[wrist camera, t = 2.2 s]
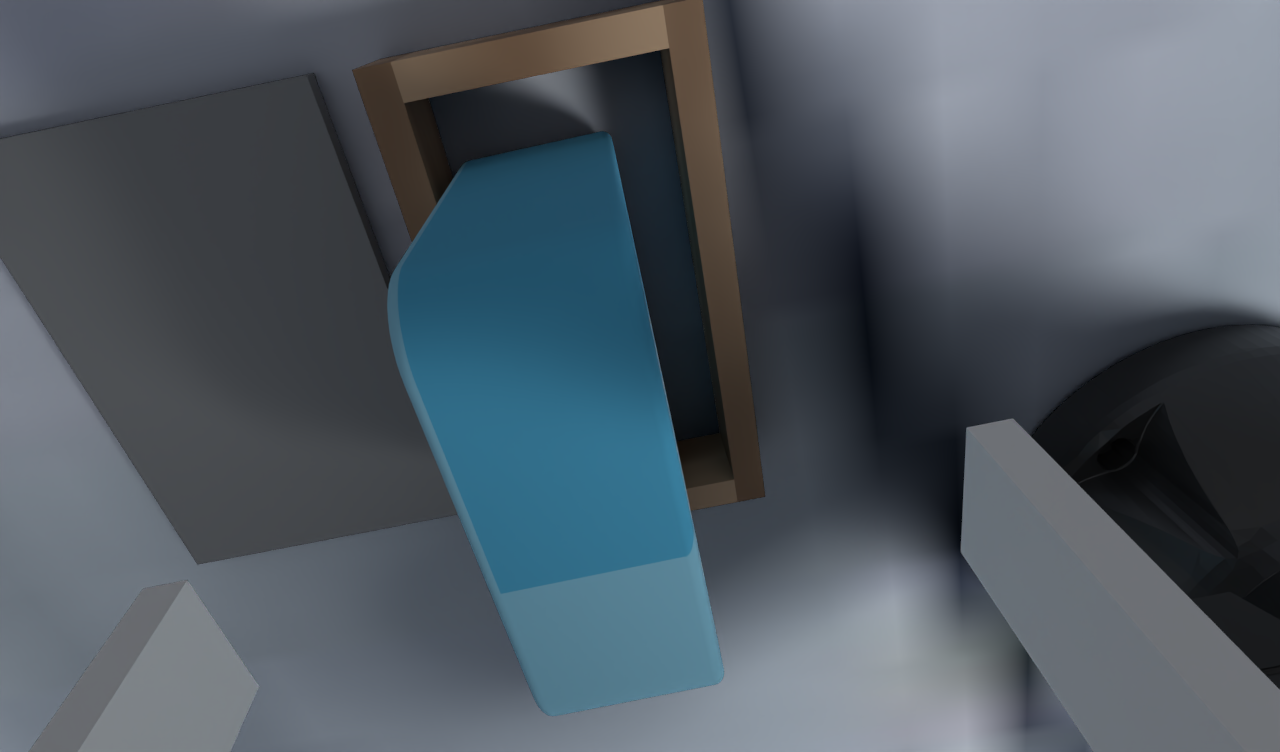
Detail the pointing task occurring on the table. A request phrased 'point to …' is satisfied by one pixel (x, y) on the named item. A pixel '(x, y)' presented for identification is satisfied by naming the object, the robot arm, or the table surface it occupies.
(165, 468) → the charcoal mat
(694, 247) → the walnut box
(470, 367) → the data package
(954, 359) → the table surface
